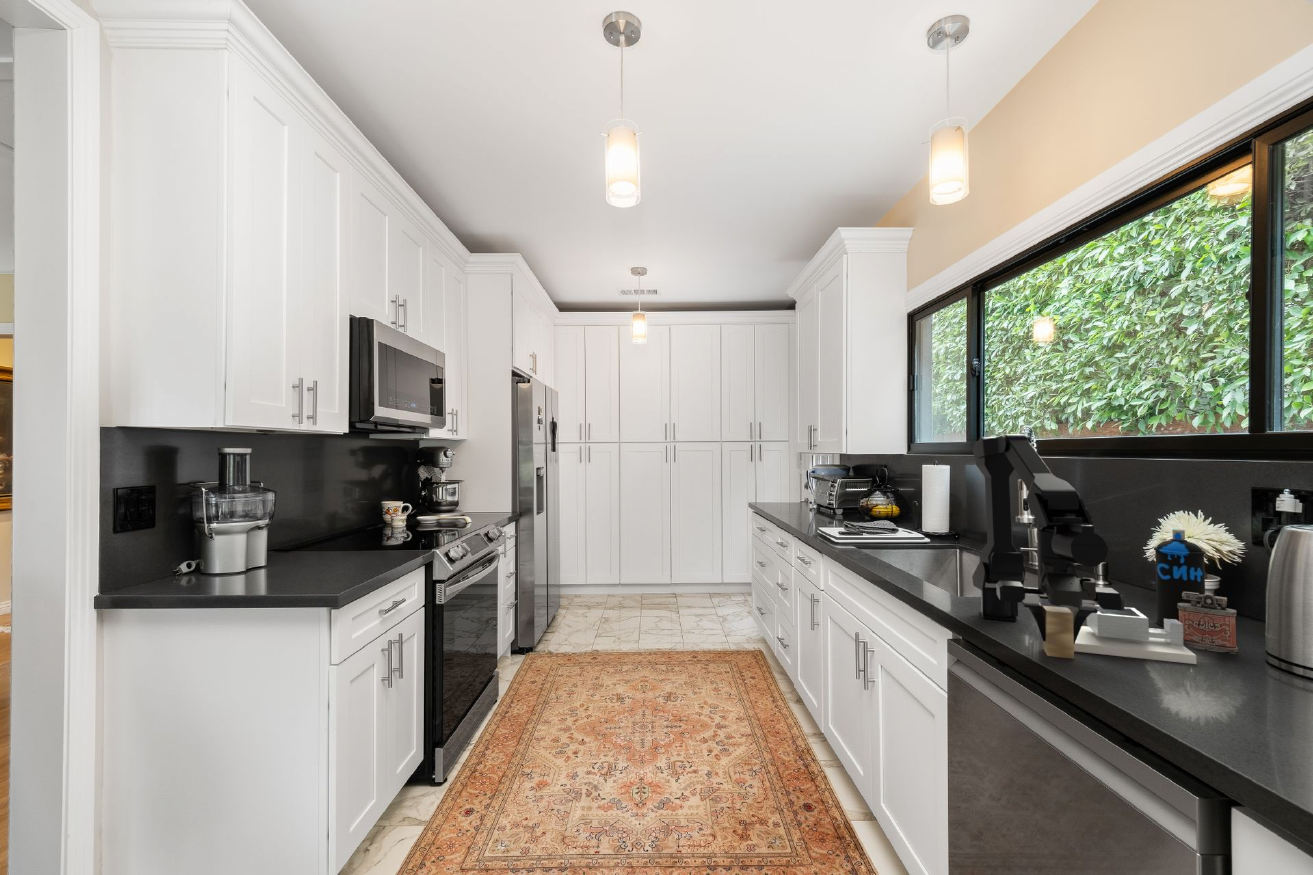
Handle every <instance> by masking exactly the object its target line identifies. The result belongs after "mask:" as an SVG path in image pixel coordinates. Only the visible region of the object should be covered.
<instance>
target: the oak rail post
mask: <svg viewBox="0 0 1313 875" xmlns="http://www.w3.org/2000/svg"><path fill="white" fill-rule="evenodd" d="M1042 606H1043V619H1044V625H1045V632H1046V641H1045V642H1044V641H1043V640H1042V649H1044V650H1043V651H1044V653H1045V654H1046V656H1047V657H1056V658H1064V659H1073V660H1074V659H1075V651H1074V634H1073V613H1072V612H1071V609H1069V607H1064V606H1063V607H1061V606H1053V605H1052V606H1051V605H1042Z"/></svg>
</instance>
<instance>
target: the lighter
mask: <svg viewBox="0 0 1313 875" xmlns="http://www.w3.org/2000/svg"><path fill="white" fill-rule="evenodd" d="M1182 598H1183V599H1189V600H1192V601H1191V604H1188V603H1178V608H1179V622H1181V623H1182V624H1183V646H1184V647H1189V648H1194V649H1199V650H1200V649H1201V650H1205V649H1207V650H1206V651H1211V652H1212V651H1213V652H1220V653H1225V652H1230V653H1229V654H1235V653H1234V652H1239V650H1238V647H1237V633H1236V632H1237V631H1236V629H1237V628H1236V627H1237V626H1236V616H1237V610H1236V609H1232V608H1227V604H1228V598H1227V597H1226V596H1225V597H1223V596H1217V595H1215V596H1214V594H1212V593H1209V592H1205V594H1204V595H1200V594H1199V593H1192V592H1183V593H1182ZM1196 600H1197V601H1202V602H1201V603H1200V605H1198V604H1197V601H1196ZM1218 604H1219V605H1218ZM1231 652H1232V653H1231Z"/></svg>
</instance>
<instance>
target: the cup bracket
mask: <svg viewBox="0 0 1313 875" xmlns="http://www.w3.org/2000/svg"><path fill="white" fill-rule="evenodd" d="M1095 608H1096V609H1097V610H1098V613H1091V614H1090V615H1089V616H1088V617H1087V618H1086V626H1088V627H1090V628H1091V629H1092V630H1093V631H1094V633H1095V634H1096V635H1097V636H1103V637H1114V638H1124V639H1135V640H1145V641H1149V638H1159V639H1164V640H1165V641H1166V642H1167V643H1169V644H1170V645H1175V646H1184V645H1183V624H1182V623H1181V622H1179V621H1178V620H1176V619H1164V626H1163V629H1162V628H1151V627H1149V621H1150V620H1149V617H1147V616H1146V615H1144V614H1143V613H1141V611H1139V610H1137V608H1135V607H1126V606H1124V610H1123V611H1119V610H1106V609H1103V608H1101V607H1100V606H1099V605H1098V604H1096V605H1095Z"/></svg>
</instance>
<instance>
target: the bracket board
mask: <svg viewBox="0 0 1313 875" xmlns="http://www.w3.org/2000/svg"><path fill="white" fill-rule="evenodd" d="M1074 652H1077V653H1088V654H1099V655H1105V656H1106V655H1108V656H1114V657H1115V656H1116V657H1125V658H1132V659H1133V658H1134V659H1143V660H1144V659H1145V660H1154V661H1164V662H1171V663H1172V662H1173V663H1174V662H1175V663H1181V664H1182V663H1183V664H1193V665H1197V654H1195V653H1193V652H1192V651H1191V650H1190V649H1188V648H1187V646H1184V645H1183V646H1175V645H1170V644H1169V643H1167V642H1166V641H1165V640H1164V639H1159V638H1149V641H1145V640H1135V639H1124V638H1114V637H1103V636H1097V635H1096V634H1095V633H1094V631H1093V630H1092V629H1091V628H1090V627H1089V626H1088V625H1082V627H1081V629H1080V631H1079V634H1078V636H1077V639H1076V641H1075V644H1074Z"/></svg>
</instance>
